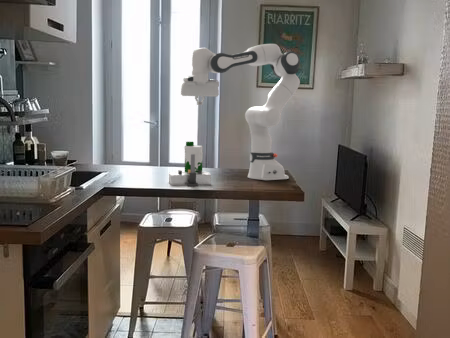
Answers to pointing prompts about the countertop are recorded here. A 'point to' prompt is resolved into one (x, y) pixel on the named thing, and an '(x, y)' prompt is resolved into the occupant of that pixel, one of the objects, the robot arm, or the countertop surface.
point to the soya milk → (198, 152)
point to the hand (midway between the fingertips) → (199, 104)
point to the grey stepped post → (192, 173)
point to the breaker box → (183, 178)
